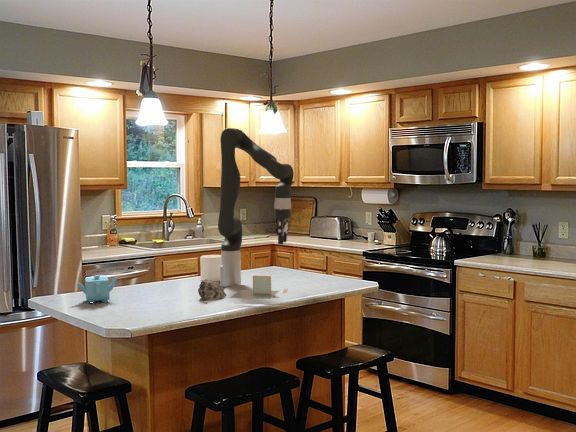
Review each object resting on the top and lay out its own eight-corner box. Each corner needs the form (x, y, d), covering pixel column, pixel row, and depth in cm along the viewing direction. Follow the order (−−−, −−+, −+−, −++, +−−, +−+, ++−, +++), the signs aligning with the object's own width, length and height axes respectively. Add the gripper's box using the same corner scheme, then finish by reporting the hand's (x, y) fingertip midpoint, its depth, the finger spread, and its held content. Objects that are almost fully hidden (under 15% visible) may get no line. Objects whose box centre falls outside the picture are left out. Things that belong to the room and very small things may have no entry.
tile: (252, 294, 282) (252, 276, 282) (253, 293, 284) (253, 275, 283) (270, 294, 281) (270, 276, 280) (271, 293, 282) (271, 275, 282)
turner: (281, 291, 294) (281, 288, 293) (291, 291, 293) (291, 288, 293) (276, 298, 278) (276, 295, 278) (286, 298, 277) (286, 295, 277)
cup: (222, 281, 322) (221, 257, 321) (199, 281, 322) (198, 257, 321) (225, 277, 333) (224, 254, 333) (202, 277, 334) (202, 254, 333)
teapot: (76, 299, 280) (75, 274, 279) (118, 296, 286) (117, 271, 285) (78, 306, 265) (77, 279, 264) (122, 303, 271) (121, 276, 270)
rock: (195, 305, 271) (206, 288, 268) (191, 291, 279) (203, 274, 276) (221, 314, 278) (233, 297, 274) (217, 300, 286) (229, 283, 282)
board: (229, 299, 275) (229, 297, 275) (240, 291, 293) (240, 289, 292) (270, 301, 271) (270, 298, 271) (279, 293, 289) (279, 290, 289)
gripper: (277, 206, 300) (277, 241, 301) (271, 208, 286) (271, 244, 287) (293, 207, 298) (293, 241, 299) (288, 209, 284) (287, 245, 286)
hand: (282, 243), depth 293 cm, fingers open, 8 cm apart
